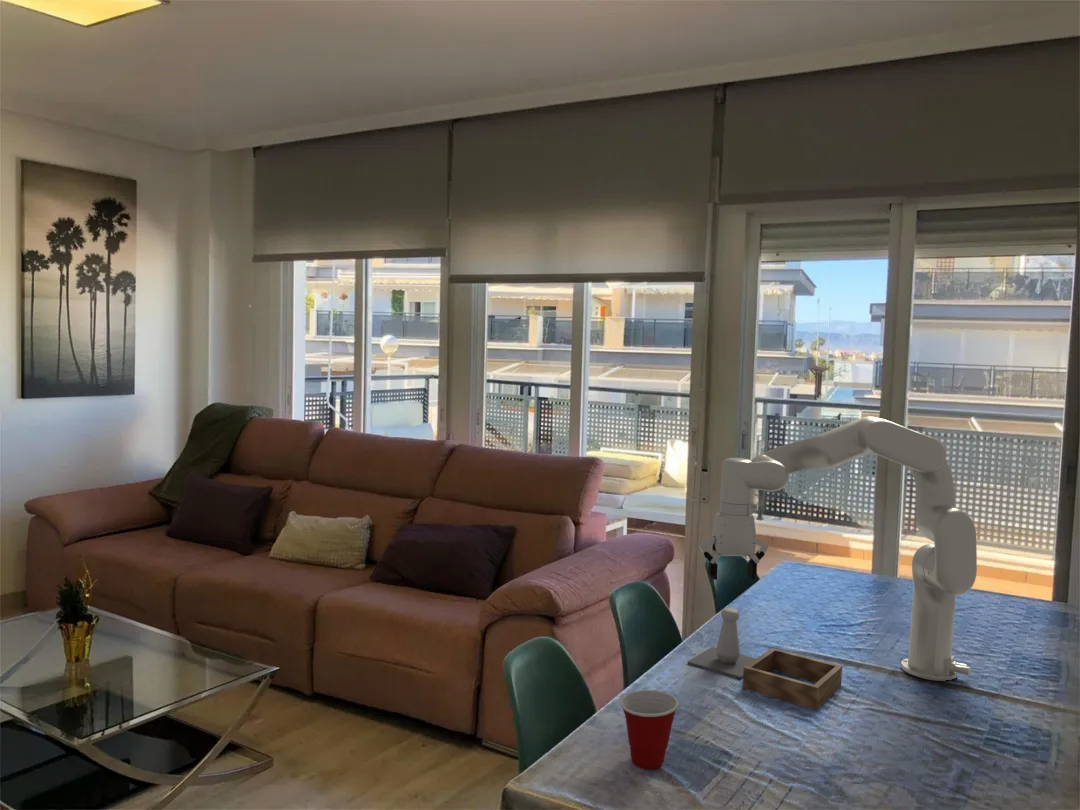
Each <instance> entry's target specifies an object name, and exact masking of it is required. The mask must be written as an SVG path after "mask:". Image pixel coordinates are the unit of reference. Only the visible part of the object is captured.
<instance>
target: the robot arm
mask: <svg viewBox="0 0 1080 810" xmlns="http://www.w3.org/2000/svg"><path fill="white" fill-rule="evenodd" d="M946 451H947V450H946V449H945V446H944V445H943V443H941V441H940V440H938V439H937V438H935V437H932V436H930V435H927V434H924V433H922V432H918V431H916V430H913V429H911V428H908V427H905V426H903V425H900V424H898V423H895V422H893V421H890V420H887V419H885V418H880V417H876V416H863V417H860V418H857V419H855V420H853V421H850V422H848V423H845V424H843V425H840V426H837V427H835V428H833V429H831V430H828V431H825V432H823V433H820V434H817V435H814V436H812V437H811V436H810V437H807V438H803V439H801V440H798V441H794V442H793V441H792V442H789V443H787V444H783V445H781V446H778V447H775V448H773V449H770V450H767V451H766V452H763V453H760V454H758V455H756V456H754V457H753V458H752V459H748V458H743V457H742V458H741V457H727V458H725V459H723V461H722V464H721V478H720V479H721V480H720V496H719V497H720V498H719V499H720V501H719V512H717V513H715V516H714V521H713V526H712V531H711V538H709V539H707V540H704V541H702V542H701V543H700V544H699V545H698V547H699V549H700V551H701V553H702V555H703V556H704V558H705V559H706V560H707V561H708V575H709V577H710V578H711V579H712V580H713V581H716V580H718V568H719V565H718V563H717V561H718V560H719V559H720V558H721V557H748V558H749V560H748V561H747V577H748V578H750V579H751V580H755V579H756V575H757V573H758V571H757V570H758V564H759V563H760V560H762V558H763V557H764V556H765V554H766V553H767V550H768V549H769V544H767V542H764V541H762V540H761V539H758V538H757V532H756V523H755V516H754V514H753V511H754V510H755V511H756V510H757V509H758V505H757V504H754V503H753V490H760V491H765V492H777V491H778V492H779V491H780V490H782V489H783V488H785V487H786V485H787V484H788V482H789V476H790V475H791V474H794V473H798V472H802V471H809V470H813V471H814V470H815V471H817V470H818V471H820V470H828V469H832V468H835V467H838V466H839V465H843V464H845V463H848V462H849V461H853V460H855V459H858V458H861V457H863V456H865V455H867V454H874V455H877V456H879V457H882V458H884V459H886V460H889V461H891V462H894V463H896V464H898V465H901V466H904V467H907V469H908V470H909V471H910V473H911V475H912V477H913V481H914V485H915V493H916V494H915V496H916V498H915V503H916V504H915V508H916V509H915V511H916V527H917V530H918V531H919V533H920V534H921V535H922V536H923V537H925V538H927V540H930V541H932V542H934V543H927V544H923V545H922V546H920V547H919V548H918V549H917V550H916V551H915V553H914V554H913V557H912V560H911V574H912V586H913V589H912V590H913V591H912V604H911V605H912V606H911V617H910V631H909V641H908V642H909V643H908V655H907V658H904V659H902V660H901V661H900V668H901V669H902V671H904V672H906V673H907V674H909V675H912V676H915V677H916V678H921V679H924V680H930V681H936V682H947V681H946V680H949V681H952V679H953V680H954V678H955V679H956V678H957V677H956V676H958V675H957V673H958V674H961V675H963V676H964V675H965V676H969V677H970V673H971V667H969V666H967V664H965V663H960V662H957V661H956V660H955V655H952V653H953V652H952V651H953V650H952V648H953V636H954V627H955V625H954V623H955V613H956V596H959V595H964V594H966V593H967V592H969V591H970V590H971V589H972V587H973V586H974V584H975V582H976V578H977V574H978V573H977V571H978V567H977V566H978V565H977V562H978V561H977V559H978V555H977V553H978V552H977V547H978V546H977V531H976V526H975V523H974V521H973V519H972V518H971V517H970V515H969V514H968V513H966V512H965V511H964V510H962V509H960V508H957V506H956V499H955V497H956V495H955V482H954V476H953V473H952V469H951V467H950V464H949V462H948V461H947V460H946V458H947V452H946ZM757 546H759V547H760V548H759V550H757V551H756V549H757ZM709 547H710V548H711V549H710V550H711V552H710V553H709V551H708V548H709Z"/></svg>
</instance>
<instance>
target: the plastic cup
mask: <svg viewBox="0 0 1080 810" xmlns="http://www.w3.org/2000/svg"><path fill="white" fill-rule="evenodd" d="M619 704H620V707H621V708H622V710H623V714H624V718H625V721H626V722H625V723H626V729H627V737H628V738H627V739H628V744H629V749H630V759H631V762H632V764H633V765H634V766H636V767H638V768H639V769H643V770H651V771H652V770H657V769H660V768H661V767H662V766H663V763H664V761H665V757H666V752H667V749H668V745H669V740H670V737H671V730H672V727H673V723H674V722H673V721H674V720H675V715H676V711H677V709H678V708H679V699H677V697H676V696H675V695H673V694H671V693H669V692H666V691H661V690H657V689H641V690H640V689H639V690H634V691H631V692H628V693H626V694H625V695H623V696H622V697H621V698H620V702H619Z"/></svg>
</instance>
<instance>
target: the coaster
mask: <svg viewBox="0 0 1080 810" xmlns="http://www.w3.org/2000/svg"><path fill="white" fill-rule="evenodd" d="M716 648H717V646H711V647H709V648H707V649H706V650H705V651H702V652H701V653H699V654H698V655H696V656H694V657H693V658H691V659H690V660H688V661H687V663H688V664H687V665H690V664H691V665H690V666H693V665H694V666H693V667H697V668H700V667H701V669H703V668H704V670H708V671H710V670H711V672H714V673H717V672H718V674H721V675H724V674H725V676H728V675H729V677H731V676H732V677H731V678H735V677H736V678H735V679H738V678H739V680H743V671H744V667H745V666H746V665H748V664H749V663H751V662H752V661H754V660H755V659H757V658H758V657H753V656H749V655H745V654H742V653H740V656H739V658H738V659H737V661H736V663H733V664H725V663H722V662H720V661H719V659H718V656H717V654H716Z"/></svg>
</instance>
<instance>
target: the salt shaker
mask: <svg viewBox="0 0 1080 810" xmlns="http://www.w3.org/2000/svg"><path fill="white" fill-rule="evenodd" d="M720 616H721V619H722V620H723V621H722V624H721V629H720V633H719V636H718V641H717V645H716V654H717V656H718V659H719V661H720V662H722V663H725V664H733V663H736V661H737V659H738V658H739V656H740V654H741V650H740V644H739V643H740V642H739V633H738V625H737V623H738V622H737V621H739V619H740V613H739V610H737V609H736V608H732V607H725V608H723V609H722V610H721V615H720Z"/></svg>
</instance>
